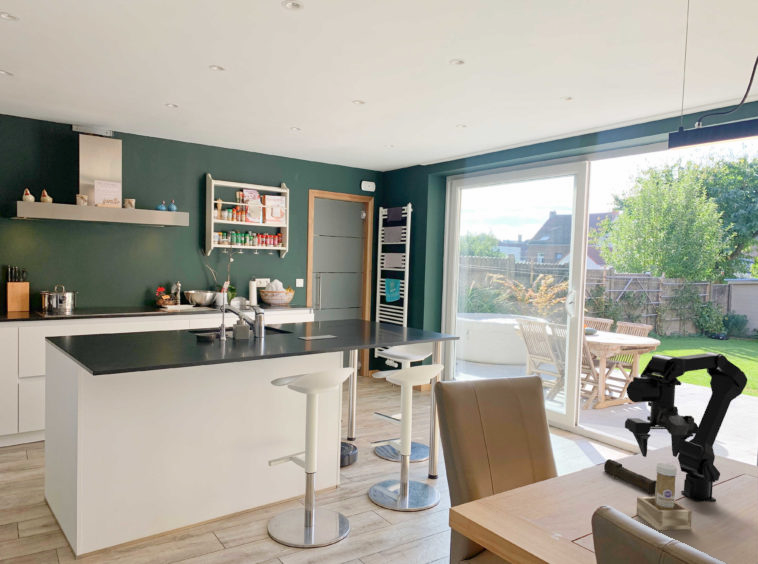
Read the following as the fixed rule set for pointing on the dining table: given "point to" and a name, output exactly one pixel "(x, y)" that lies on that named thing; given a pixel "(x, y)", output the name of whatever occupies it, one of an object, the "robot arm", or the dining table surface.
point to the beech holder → (664, 515)
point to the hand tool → (629, 476)
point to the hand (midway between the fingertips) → (659, 456)
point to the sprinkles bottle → (665, 486)
